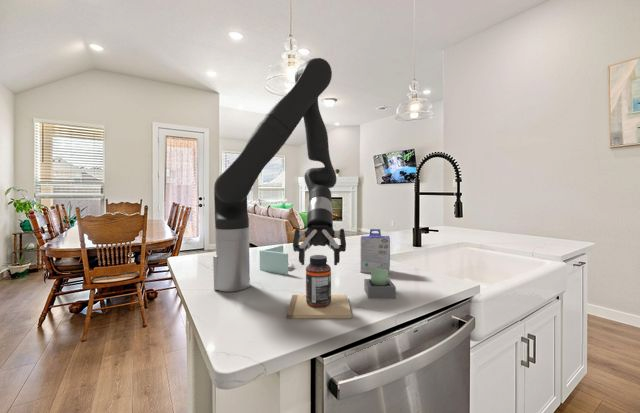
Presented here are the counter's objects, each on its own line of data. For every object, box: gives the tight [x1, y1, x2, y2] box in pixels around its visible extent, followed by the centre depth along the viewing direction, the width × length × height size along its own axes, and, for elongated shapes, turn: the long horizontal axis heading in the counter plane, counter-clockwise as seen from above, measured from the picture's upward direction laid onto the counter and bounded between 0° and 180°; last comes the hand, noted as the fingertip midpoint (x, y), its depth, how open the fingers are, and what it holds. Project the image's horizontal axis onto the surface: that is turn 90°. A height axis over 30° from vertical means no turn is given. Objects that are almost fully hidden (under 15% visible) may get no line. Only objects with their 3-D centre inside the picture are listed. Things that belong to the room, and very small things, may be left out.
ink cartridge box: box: [360, 228, 391, 275], centre depth 99 cm, size 10×6×14 cm, turn 78°
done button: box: [370, 268, 389, 285], centre depth 77 cm, size 4×4×4 cm
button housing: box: [363, 278, 397, 300], centre depth 77 cm, size 7×7×3 cm
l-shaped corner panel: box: [259, 244, 294, 276], centre depth 104 cm, size 12×12×8 cm
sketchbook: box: [286, 294, 352, 319], centre depth 68 cm, size 14×12×1 cm
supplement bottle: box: [305, 254, 332, 307], centre depth 68 cm, size 6×6×11 cm
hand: (319, 263), depth 74 cm, fingers open, 8 cm apart
